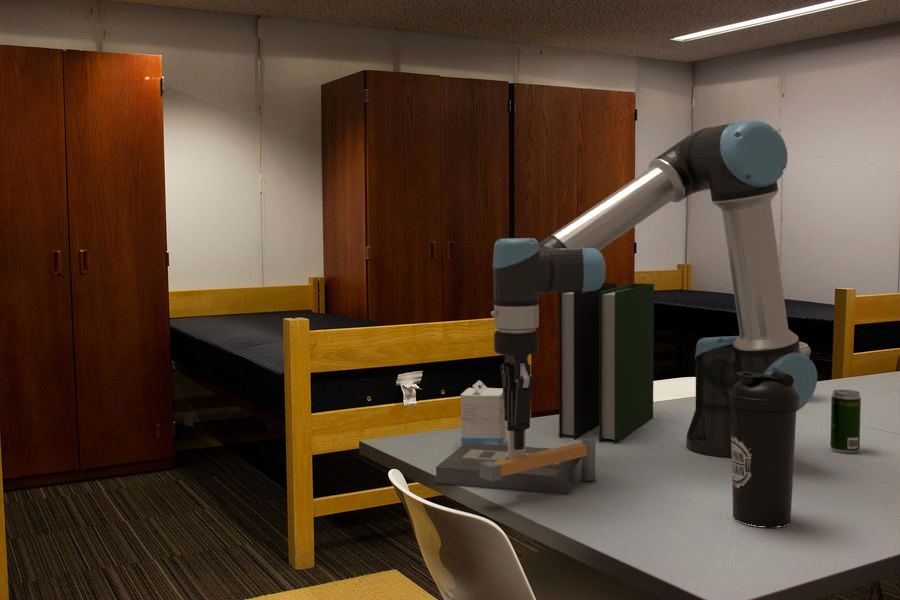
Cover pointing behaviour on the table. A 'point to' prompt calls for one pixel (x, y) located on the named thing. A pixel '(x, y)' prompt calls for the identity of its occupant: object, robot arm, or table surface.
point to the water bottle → (763, 447)
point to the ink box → (483, 415)
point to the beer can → (845, 421)
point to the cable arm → (543, 461)
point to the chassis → (543, 479)
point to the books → (606, 360)
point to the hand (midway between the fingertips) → (517, 466)
